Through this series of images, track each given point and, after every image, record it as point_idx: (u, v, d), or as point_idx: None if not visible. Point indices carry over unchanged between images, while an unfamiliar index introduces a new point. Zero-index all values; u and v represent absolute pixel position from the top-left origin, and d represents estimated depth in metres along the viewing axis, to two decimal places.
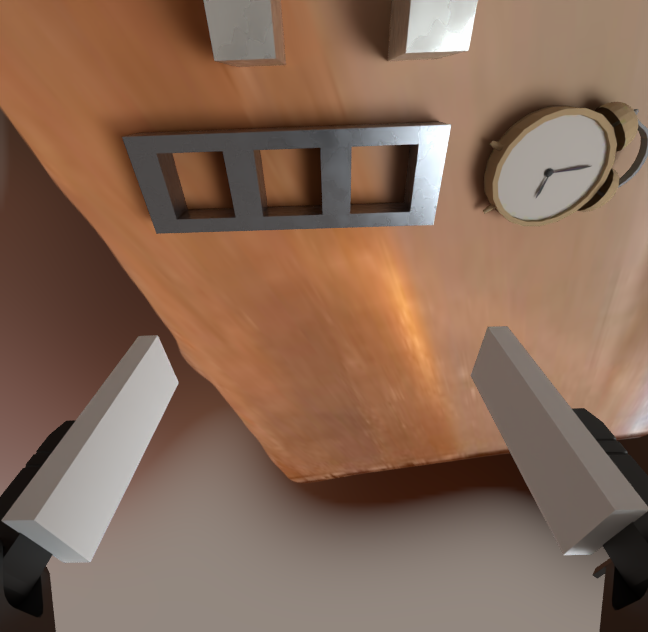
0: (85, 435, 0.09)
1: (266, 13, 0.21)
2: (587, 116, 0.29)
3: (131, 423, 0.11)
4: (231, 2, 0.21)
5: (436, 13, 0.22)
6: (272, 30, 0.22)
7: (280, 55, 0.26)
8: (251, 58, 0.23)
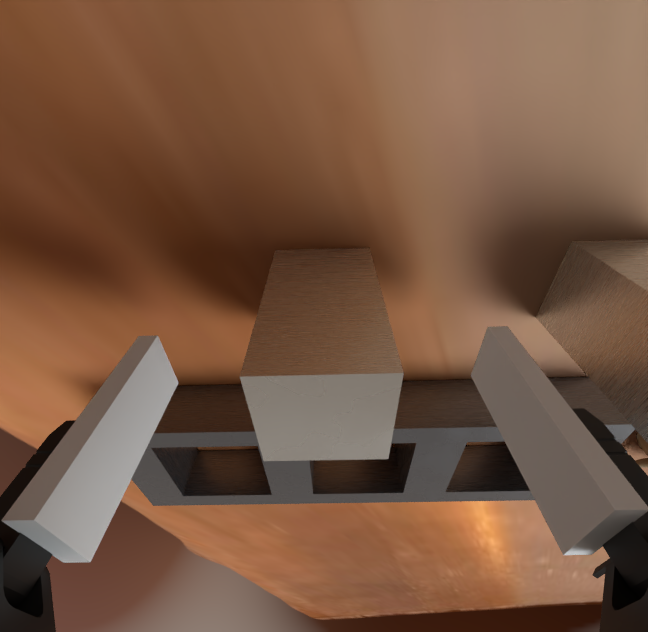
0: (85, 435, 0.09)
1: (384, 419, 0.10)
2: None
3: (131, 423, 0.11)
4: (310, 408, 0.09)
5: None
6: (390, 432, 0.10)
7: None
8: (338, 458, 0.11)
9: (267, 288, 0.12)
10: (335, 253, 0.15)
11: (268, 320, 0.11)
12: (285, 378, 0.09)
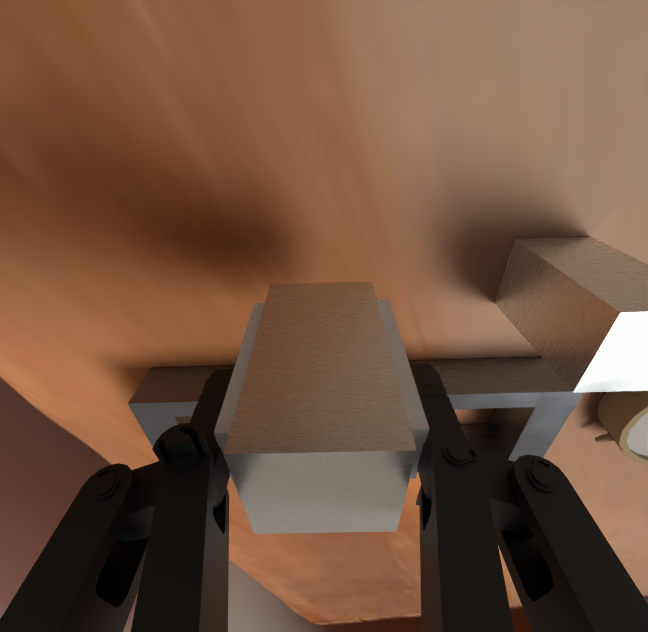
0: None
1: (392, 494, 0.08)
2: None
3: None
4: (307, 484, 0.08)
5: (636, 358, 0.14)
6: (399, 506, 0.09)
7: None
8: (339, 530, 0.10)
9: (260, 332, 0.11)
10: (335, 288, 0.13)
11: (260, 374, 0.09)
12: (276, 456, 0.07)
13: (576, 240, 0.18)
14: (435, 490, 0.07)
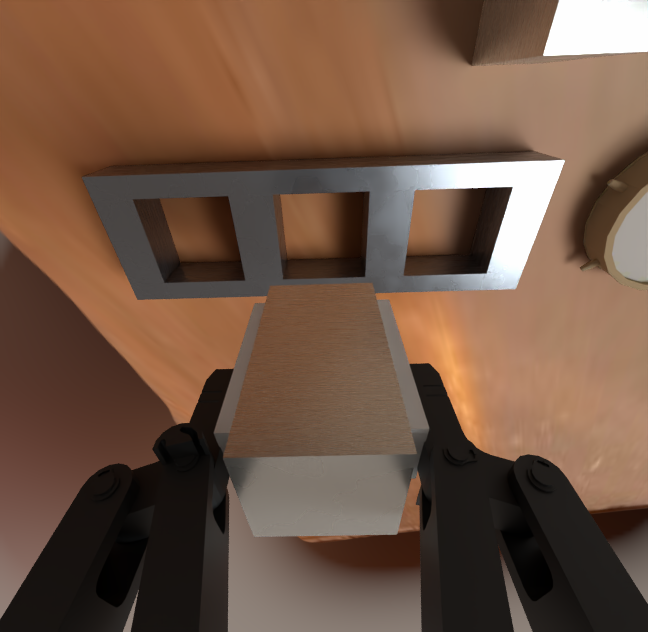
0: None
1: (393, 498, 0.08)
2: None
3: None
4: (307, 487, 0.08)
5: None
6: None
7: None
8: (340, 533, 0.10)
9: (259, 334, 0.11)
10: (335, 290, 0.13)
11: (259, 377, 0.09)
12: (276, 459, 0.07)
13: None
14: (435, 490, 0.07)
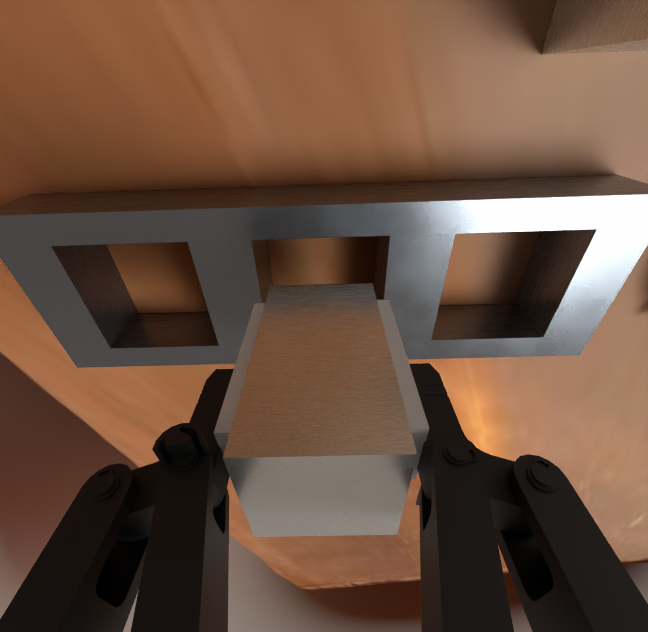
0: None
1: (393, 498, 0.08)
2: None
3: None
4: (307, 487, 0.08)
5: None
6: None
7: None
8: (340, 533, 0.10)
9: (259, 334, 0.11)
10: (335, 290, 0.13)
11: (259, 377, 0.09)
12: (276, 459, 0.07)
13: None
14: (435, 490, 0.07)
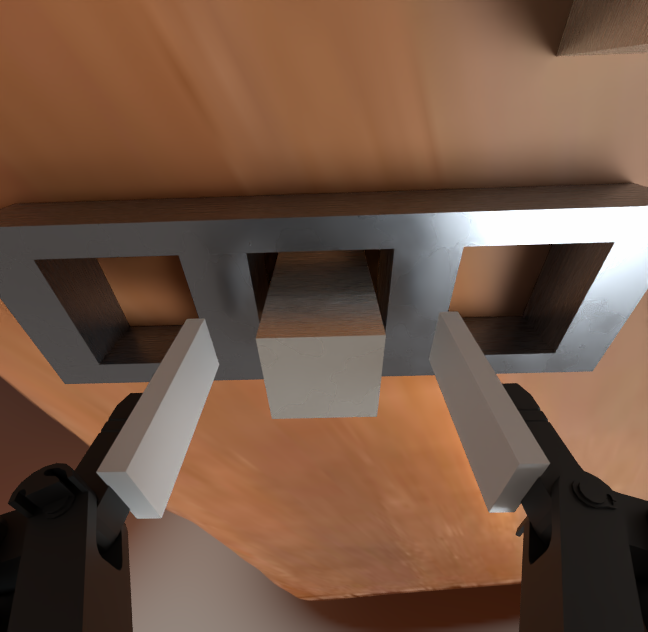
0: (155, 403, 0.10)
1: (372, 377, 0.12)
2: None
3: (187, 397, 0.11)
4: (311, 367, 0.12)
5: None
6: (377, 391, 0.13)
7: None
8: (335, 416, 0.13)
9: (275, 275, 0.15)
10: None
11: (277, 298, 0.13)
12: (291, 340, 0.11)
13: None
14: (560, 525, 0.07)
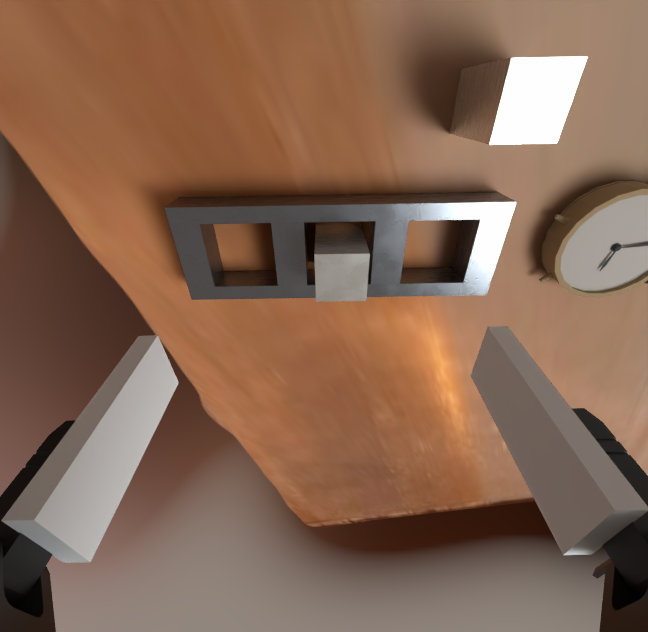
0: (85, 435, 0.09)
1: (364, 276, 0.27)
2: None
3: (131, 423, 0.11)
4: (337, 270, 0.26)
5: (528, 107, 0.20)
6: (366, 285, 0.27)
7: None
8: (346, 300, 0.28)
9: (316, 234, 0.29)
10: (344, 223, 0.32)
11: (320, 242, 0.27)
12: (329, 255, 0.25)
13: None
14: None
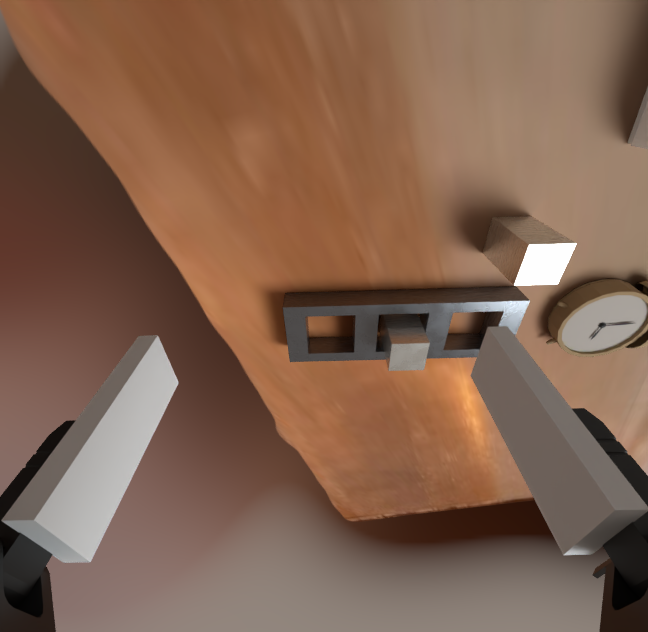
0: (85, 435, 0.09)
1: (424, 356, 0.39)
2: (635, 295, 0.39)
3: (131, 423, 0.11)
4: (406, 352, 0.38)
5: (539, 267, 0.32)
6: (425, 360, 0.39)
7: None
8: (409, 369, 0.40)
9: (386, 321, 0.41)
10: None
11: (391, 330, 0.39)
12: (402, 344, 0.37)
13: (523, 217, 0.36)
14: None
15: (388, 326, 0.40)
